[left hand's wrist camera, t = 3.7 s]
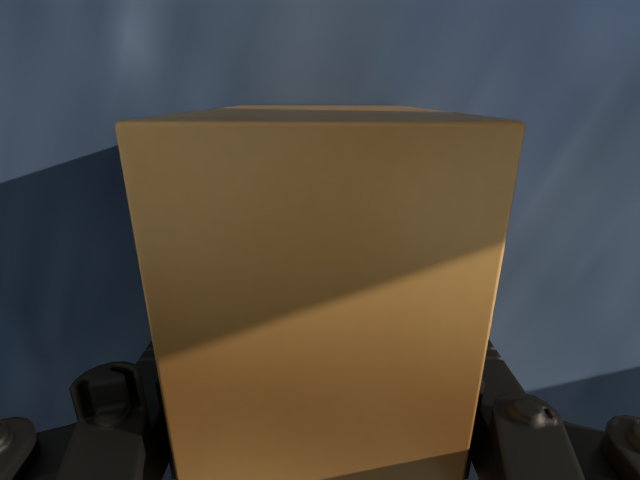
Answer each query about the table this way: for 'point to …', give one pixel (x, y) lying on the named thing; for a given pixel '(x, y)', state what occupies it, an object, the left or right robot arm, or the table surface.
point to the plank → (320, 283)
